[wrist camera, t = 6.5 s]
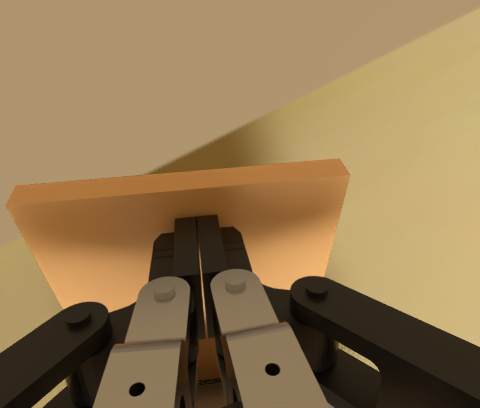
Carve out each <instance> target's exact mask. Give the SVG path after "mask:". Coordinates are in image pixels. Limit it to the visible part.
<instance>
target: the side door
mask: <svg viewBox="0 0 480 408" xmlns="http://www.w3.org/2000/svg"><path fill="white" fill-rule="evenodd" d="M349 177H350V174H349V172H348V171H347V169H346V168H345V166H344V165H343V163H342V161H341V160H340V159H328V160H316V161H304V162H292V163H280V164H268V165H256V166H244V167H233V168H221V169H209V170H197V171H185V172H173V173H161V174H149V175H137V176H125V177H113V178H101V179H90V180H78V181H66V182H55V183H42V184H30V185H18V186H16V187H15V188H14V190H13V192H12V194H11V196H10V198H9V201H8V202H7V204H6V207H7V209H8V211H9V213H10V214H11V216H12V218H13V220H14V222H15V223H16V225H17V227H18V229H19V231H20V233H21V234H22V236H23V238H24V240H25V242H26V243H27V245H28V247H29V249H30V251H31V252H32V254H33V256H34V258H35V260H36V261H37V263H38V265H39V267H40V269H41V270H42V272H43V274H44V276H45V278H46V279H47V281H48V283H49V285H50V287H51V288H52V290H53V292H54V294H55V296H56V297H57V299H58V301H59V303H60V305H61V306H62V308H63V310H64V309H65V308H67V307H69V306H72V305H74V304H78V303H82V302H99V303H101V304H103V305H105V306H106V307H107V309H108V312H112V311H115V310H118V309H121V308H124V307H126V306H129V305H131V304H133V303H134V302H136V301H137V297H138V294H139V291H140V290H141V288H142V287H143V286H144V285H145V284H147V283H148V279H149V272H150V265H151V260H152V252H153V243H154V241H155V240H156V239H157V237H158V236H159V235H160V234H161V233H172V232H174V228H175V218H186V217H195V218H196V228H197V238H198V249H199V259H200V270H201V258H200V246H199V234H198V222H197V216H206V215H216V214H217V216H218V221H219V226H220V228H221V227H231V226H233V227H235V228H236V229H237V230H238V231H239V232H241V234H242V238H243V242H244V244H245V248H246V251H247V254H248V258H249V261H250V264H251V268H252V271H253V273H254V274H256V275H257V276H258V277H259V279H260V281H261V283H262V284H264V285H266V286H268V287H272V288H277V289H285V290H290V288H291V285H292V284H293V283H294V282H295V281H296V280H298V279H300V278H302V277H306V276H320V277H324V275H325V271H326V267H327V264H328V260H329V256H330V252H331V248H332V244H333V240H334V236H335V232H336V228H337V224H338V220H339V217H340V213H341V209H342V205H343V201H344V197H345V193H346V189H347V185H348V181H349ZM201 283H202V296H203V309H204V321H205V334H206V339H201V340H199V354H198V362H199V366H198V381H200V380H207V379H214V378H220V374H219V369H218V364H217V356H216V345H215V338H208V333H207V322H206V312H205V302H204V291H203V281H202V270H201Z"/></svg>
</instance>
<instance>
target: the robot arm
mask: <svg viewBox="0 0 480 408" xmlns="http://www.w3.org/2000/svg"><path fill="white" fill-rule="evenodd" d="M197 222H198V234H199V246H200V258H201V270H202V281H203V291H204V302H205V312H206V322H207V333H208V338H215V345H216V356H217V364H218V369H219V374H220V379H221V383H222V388H223V393H224V398H225V403H226V406H224V407H221V408H330V407H329V405H328V403H329V404H330V405H332V406H333V407H334V408H480V347H478V346H476V345H474V344H472V343H469V342H467V341H465V340H463V339H461V338H458V337H456V336H454V335H452V334H450V333H447V332H445V331H443V330H441V329H439V328H436V327H434V326H432V325H430V324H428V323H425V322H423V321H421V320H419V319H417V318H414V317H412V316H410V315H408V314H405V313H403V312H401V311H399V310H397V309H394V308H392V307H390V306H388V305H386V304H383V303H381V302H379V301H377V300H375V299H372V298H370V297H368V296H366V295H364V294H361V293H359V292H357V291H355V290H353V289H350V288H348V287H346V286H344V285H341V284H339V283H337V282H335V281H333V280H330V279H328V278H325V277H320V276H306V277H302V278H300V279H298V280H296V281H295V282H294V283H293V284H292V285H291V288H290V290H285V289H277V288H272V287H268V286H266V285H264V284H262V283H261V281H260V279H259V277H258V276H257V275H256V274H254V273H253V271H252V268H251V264H250V261H249V258H248V254H247V251H246V248H245V244H244V242H243V238H242V234H241V232H239V231H238V230H237V229H236V228H235V227H233V226H231V227H221V228H220V226H219V221H218V216H217V214H216V215H206V216H197ZM201 270H200V259H199V249H198V238H197V228H196V218H195V217H186V218H175V228H174V232H172V233H161V234H160V235H159V236H158V237H157V239H156V240H155V241H154V243H153V252H152V260H151V265H150V272H149V279H148V283H147V284H145V285H144V286H143V287H142V288H141V290H140V291H139V294H138V297H137V301H136V302H134V303H133V304H131V305H129V306H126V307H124V308H121V309H118V310H115V311H112V312H108V309H107V307H106V306H105V305H103V304H101V303H99V302H82V303H78V304H74V305H72V306H69V307H67V308H65V309H64V310H62V311H61V312H59V313H58V314H56V315H55V316H53V317H52V318H51V319H49V320H48V321H46V322H45V323H43V324H42V325H40V326H39V327H38V328H36V329H35V330H33V331H32V332H30V333H29V334H27V335H26V336H25V337H23V338H22V339H20V340H19V341H17V342H16V343H14V344H13V345H12V346H10V347H9V348H7V349H6V350H4V351H3V352H1V353H0V408H31V407H33V406H34V405H35V404H36V403H37V402H38V401H40V400H41V399H42V398H43V397H44V396H45V395H46V394H48V393H49V392H50V391H51V390H52V389H53V388H55V387H56V386H57V385H58V384H59V383H60V382H62V381H63V380H64V379H65V380H66V383H67V386H66V387H65V388H64V389H63V390H62V391H61V392H60V393H58V394H57V395H56V396H55V397H54V398H53V399H52V400H51V401H49V402H48V403H47V404H46V405H45V406H44V407H43V408H197V389H198V366H199V362H198V354H199V340H201V339H206V334H205V321H204V309H203V296H202V283H201ZM339 343H341V344H343V345H344V346H346V347H348V348H350V349H351V350H353V351H355V352H357V353H358V354H360V355H362V356H364V357H365V358H367V359H369V360H370V361H372V362H373V363H374V364H375V365H376V366H377V368H378V369H379V371H380V372H379V371H377V370H375V369H374V368H372V367H370V366H368V365H367V364H365V363H363V362H362V361H360V360H358V359H356V358H355V357H353V356H351V355H349V354H348V353H346V352H344V351H343V350H341V349H339V348H338V346H339Z"/></svg>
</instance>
